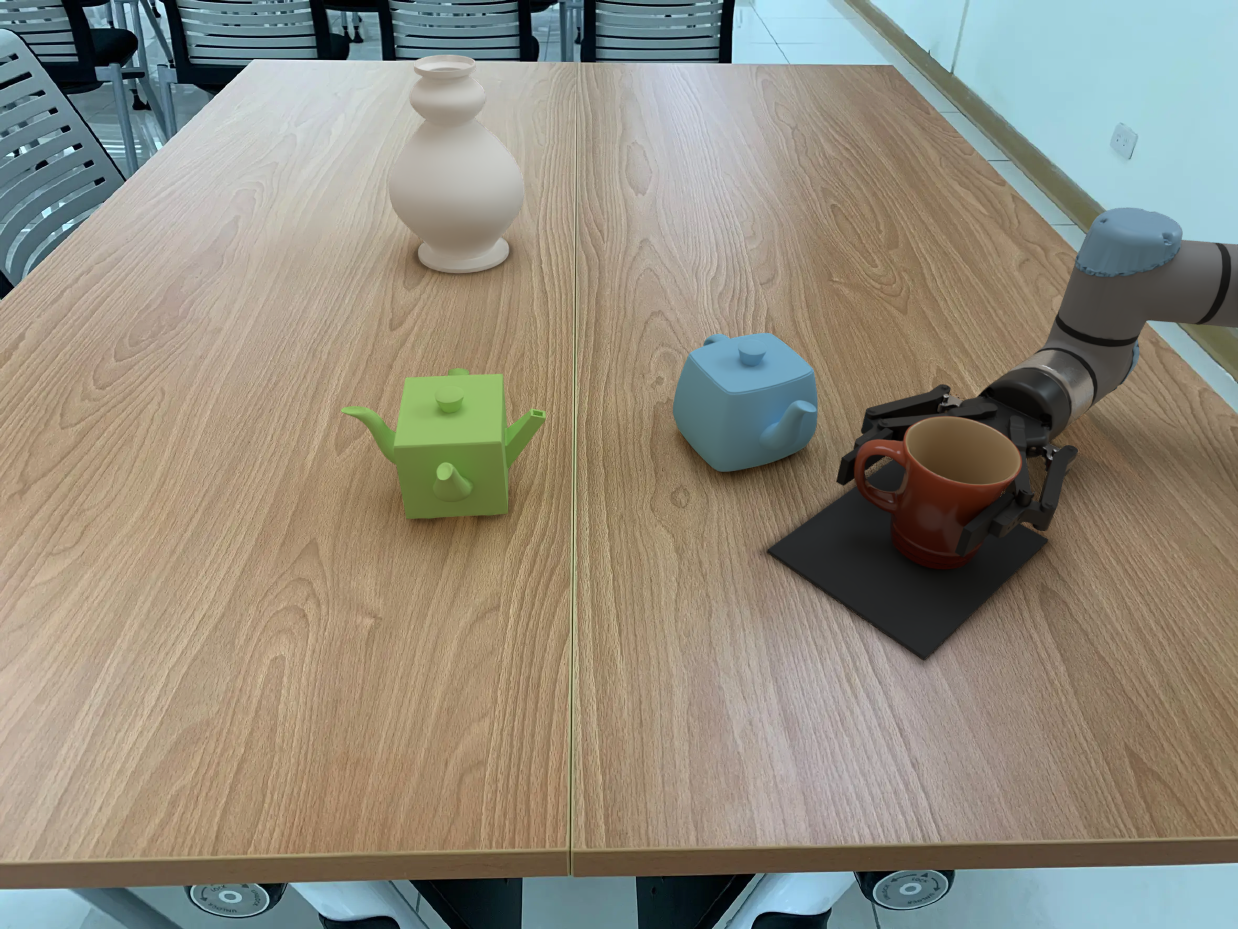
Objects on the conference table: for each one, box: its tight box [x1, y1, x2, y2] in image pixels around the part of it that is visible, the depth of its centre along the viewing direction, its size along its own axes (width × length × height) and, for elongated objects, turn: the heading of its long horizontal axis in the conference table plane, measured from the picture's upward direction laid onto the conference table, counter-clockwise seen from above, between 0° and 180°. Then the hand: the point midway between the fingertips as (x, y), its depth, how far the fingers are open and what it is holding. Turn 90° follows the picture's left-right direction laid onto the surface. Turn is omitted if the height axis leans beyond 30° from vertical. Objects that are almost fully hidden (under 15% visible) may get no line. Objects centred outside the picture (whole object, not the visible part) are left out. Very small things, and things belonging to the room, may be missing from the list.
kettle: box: [340, 367, 547, 520], centre depth 81 cm, size 15×14×11 cm
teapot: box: [672, 332, 819, 473], centre depth 86 cm, size 12×18×12 cm
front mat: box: [766, 459, 1049, 661], centre depth 79 cm, size 16×20×1 cm
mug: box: [853, 416, 1022, 570], centre depth 75 cm, size 13×9×11 cm
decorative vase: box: [388, 54, 526, 274], centre depth 116 cm, size 18×18×25 cm
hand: (900, 505), depth 72 cm, fingers closed on mug, 11 cm apart
